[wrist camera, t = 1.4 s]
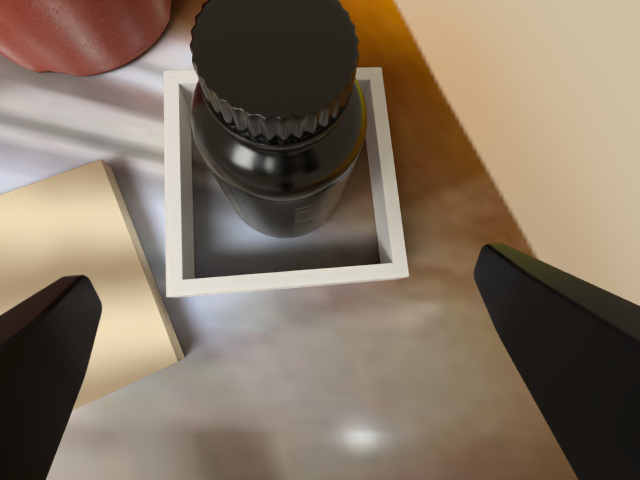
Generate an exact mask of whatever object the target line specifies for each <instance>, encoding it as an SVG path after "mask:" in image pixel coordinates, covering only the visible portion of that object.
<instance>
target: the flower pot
mask: <svg viewBox="0 0 640 480" xmlns="http://www.w3.org/2000/svg"><path fill="white" fill-rule="evenodd" d="M171 2H172V0H0V54H2V55H3V56H4V57H6V58H7V59H9V60H11V61H13V62H14V63H16V64H18V65H20V66H22V67H24V68H27V69H29V70H32V71H35V72H38V73H44V72H46V71H53V72H61V73H66V74H71V75H75V76H89V75H96V74H100V73H104V72H107V71H111V70H113V69H116V68H118V67H120V66H122V65H124V64H126V63H128V62H130V61H131V60H133V59H135V58H136V57H138V56H140V55H141V54H142V53H144V52H145V51H146V50H147V49H148V48H149V47H150V46H152V45H153V43H154V42H155V41H156V40H157V39H158V38H159V37H160V35H161V34H162V32H163V31H164V29H165V28H166V26H167V24H168V22H169V20H170V9H171Z"/></svg>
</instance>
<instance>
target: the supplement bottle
mask: <svg viewBox="0 0 640 480" xmlns="http://www.w3.org/2000/svg"><path fill="white" fill-rule="evenodd" d="M191 35H192V41H191V43H190V50H191V53H192V55H193V56H192V63H193V67H194V69H195V72H196V74H197V76H198V82H197V84H196V87H195V90H194V93H193V97H192V102H191V127H192V132H193V136H194V139H195V142H196V144H197V147H198V149H199V151H200V153H201V155H202V157H203V159H204V161H205V162H206V164H207V166H208V167H209V169H210V171H211V172H212V174H213V176H214V177H215V179H216V181H217V182H218V184H219V185H220V187H221V189H222V190H223V192H224V194H225V195H226V197H227V199H228V200H229V202H230V203H231V205H232V207H233V208H234V210H235V211H236V213H237V214H238V215H239V217H240V218H241V219H242V220H243V221H244V222H245V223H246V224H247V225H249V226H250V227H251V228H253V229H254V230H256V231H258V232H260V233H262V234H264V235H267V236H271V237H276V238H294V237H299V236H302V235H305V234H308V233H310V232H312V231H314V230H315V229H317V228H318V227H320V226H321V225H322V224H323V223H324V222H325V221H326V220H327V219H328V218H329V217H330V216H331V214H332V213H333V211H334V209H335V208H336V206H337V204H338V202H339V199H340V197H341V195H342V193H343V190H344V188H345V186H346V184H347V181H348V179H349V177H350V175H351V172H352V170H353V168H354V166H355V163H356V161H357V159H358V156H359V154H360V152H361V149H362V146H363V143H364V139H365V135H366V129H367V108H366V103H365V99H364V95H363V92H362V89H361V87H360V85H359V82H358V81H357V79H356V77H355V76H356V69H357V65H358V61H359V52H358V45H359V40H358V38H357V36H356V34H355V25H354V24H353V23H352V22H351V20H350V16H349V13H348V12H347V11H346V10H345V9H343V8H342V5H341V3H340V1H338V0H208V1H206V2H205V3H204V4H203V5H202V10H201V12H199V13H198V14H197V15H196V17H195V25H194V27H193V28H192V30H191Z"/></svg>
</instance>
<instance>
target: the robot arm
mask: <svg viewBox="0 0 640 480" xmlns="http://www.w3.org/2000/svg"><path fill="white" fill-rule="evenodd" d="M474 279H475V282H476V284H477V287H478V289H479V291H480V294H481V296H482V298H483V301H484V303H485V306H486V308H487V310H488V313H489V315H490V317H491V320H492V322H493V324H494V327H495V329H496V331H497V333H498V335H499V337H500V339H501V341H502V343H503V345H504V346H505V348H506V350H507V352H508V354H509V355H510V357H511V359H512V361H513V363H514V364H515V366H516V368H517V370H518V372H519V373H520V375H521V377H522V379H523V381H524V382H525V384H526V386H527V388H528V390H529V391H530V393H531V395H532V397H533V399H534V401H535V402H536V404H537V406H538V408H539V410H540V411H541V413H542V415H543V417H544V419H545V420H546V422H547V424H548V426H549V428H550V429H551V431H552V433H553V435H554V437H555V438H556V440H557V442H558V444H559V446H560V447H561V449H562V451H563V453H564V455H565V456H566V458H567V460H568V462H569V464H570V465H571V467H572V469H573V471H574V473H575V474H576V476H577V478H578V480H640V306H638V305H636V304H634V303H632V302H630V301H628V300H625V299H623V298H621V297H619V296H617V295H614V294H612V293H610V292H608V291H606V290H603V289H601V288H599V287H597V286H594V285H593V284H590V283H588V282H586V281H584V280H581V279H579V278H577V277H575V276H573V275H571V274H569V273H566V272H564V271H562V270H560V269H558V268H555V267H553V266H551V265H549V264H547V263H544V262H542V261H540V260H538V259H536V258H534V257H531V256H529V255H527V254H525V253H523V252H520V251H518V250H516V249H514V248H512V247H509V246H507V245H505V244H502V243H494V244H486V245H484V246H483V247H482V249H481V251H480V254H479V257H478V260H477V263H476V266H475V269H474ZM101 314H102V303H101V300H100V298H99V296H98V294H97V292H96V290H95V288H94V286H93V284H92V283H91V281H90V279H89V278H88V277H87V276H86V275H70V276H64V277H61V278H60V279H58V280H56V281H55V282H53V283H51V284H50V285H48V286H47V287H45V288H43V289H42V290H40V291H38V292H37V293H35V294H34V295H32V296H30V297H29V298H27V299H26V300H24V301H22V302H21V303H19V304H17V305H16V306H14V307H13V308H11V309H9V310H8V311H6V312H5V313H3V314H1V315H0V480H46V478H47V475H48V473H49V470H50V467H51V465H52V462H53V460H54V457H55V454H56V452H57V449H58V447H59V444H60V441H61V439H62V436H63V433H64V431H65V428H66V426H67V423H68V420H69V418H70V415H71V413H72V410H73V407H74V405H75V402H76V400H77V397H78V394H79V392H80V389H81V386H82V384H83V381H84V378H85V375H86V371H87V368H88V364H89V360H90V357H91V353H92V349H93V345H94V341H95V337H96V333H97V329H98V326H99V322H100V318H101Z"/></svg>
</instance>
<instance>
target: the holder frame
mask: <svg viewBox="0 0 640 480" xmlns="http://www.w3.org/2000/svg"><path fill="white" fill-rule="evenodd" d="M355 77H356V79H357V81H358V82H359V85H360V87H361V89H362V92H363V95H364V99H365V103H366V108H367V129H366V135H365V137H366V145H367V154H368V162H369V171H370V179H371V188H372V196H373V204H374V213H375V221H376V230H377V238H378V247H379V255H380V264H374V265H361V266H349V267H336V268H323V269H311V270H298V271H286V272H273V273H261V274H248V275H235V276H223V277H210V278H198V279H195V266H194V227H193V187H192V148H191V109H190V107H191V102H192V97H193V93H194V90H195V87H196V84H197V82H198V76H197V74H196V72H195V70H187V71H164V149H165V239H166V297H176V298H183V297H195V296H206V295H218V294H230V293H242V292H254V291H265V290H277V289H289V288H301V287H312V286H324V285H336V284H348V283H360V282H371V281H383V280H395V279H400V278H405V277H409V273H408V265H407V257H406V250H405V242H404V235H403V227H402V219H401V212H400V204H399V197H398V189H397V182H396V174H395V166H394V159H393V151H392V144H391V136H390V128H389V121H388V113H387V106H386V98H385V90H384V83H383V75H382V68H381V67H370V68H357V69H356V76H355Z"/></svg>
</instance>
